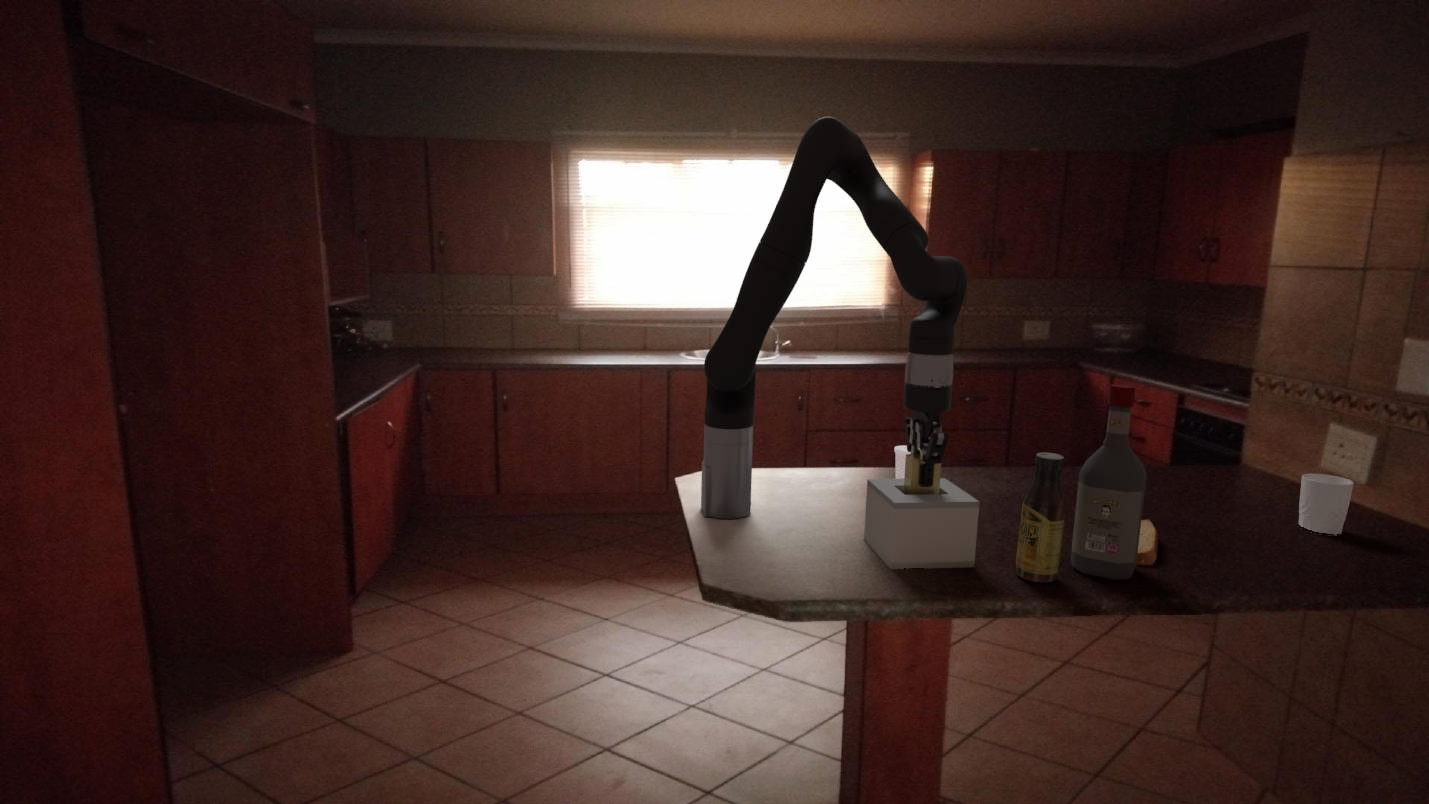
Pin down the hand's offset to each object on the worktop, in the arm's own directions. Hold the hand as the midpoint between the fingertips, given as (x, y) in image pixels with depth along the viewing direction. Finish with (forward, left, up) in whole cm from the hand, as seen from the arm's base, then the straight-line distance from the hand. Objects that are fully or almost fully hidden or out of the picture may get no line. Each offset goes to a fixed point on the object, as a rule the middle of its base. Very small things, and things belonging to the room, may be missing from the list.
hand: (921, 482), depth 138 cm
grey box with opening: (0, 0, -12) cm, 12 cm away
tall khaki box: (0, 0, -2) cm, 2 cm away
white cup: (+82, +7, -12) cm, 83 cm away
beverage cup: (+12, +38, -12) cm, 42 cm away
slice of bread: (+40, +2, -13) cm, 42 cm away
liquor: (+28, -9, -12) cm, 32 cm away
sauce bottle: (+15, -12, -12) cm, 23 cm away
